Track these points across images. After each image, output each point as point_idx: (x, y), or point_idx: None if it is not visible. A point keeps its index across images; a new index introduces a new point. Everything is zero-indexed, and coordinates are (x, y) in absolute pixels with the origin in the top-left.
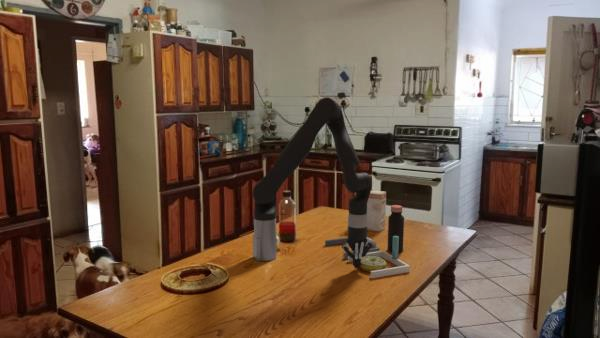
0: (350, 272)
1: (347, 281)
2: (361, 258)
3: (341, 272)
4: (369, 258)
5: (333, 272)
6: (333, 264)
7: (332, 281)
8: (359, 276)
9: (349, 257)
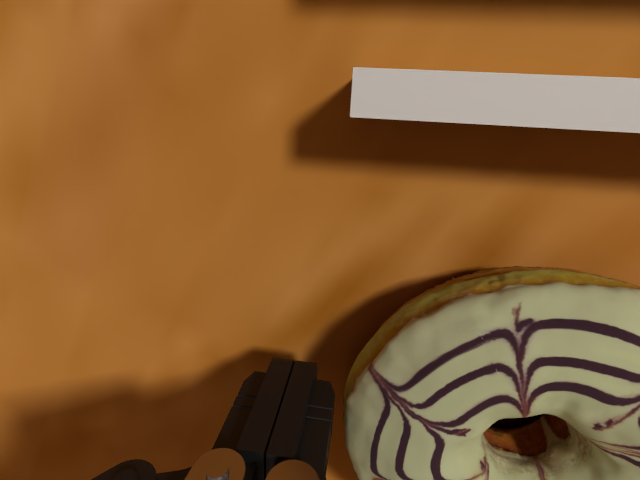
0: (220, 366)
1: None
2: (439, 353)
3: (138, 328)
4: (553, 409)
5: (65, 293)
6: (128, 84)
7: (18, 425)
8: None
9: (358, 115)
